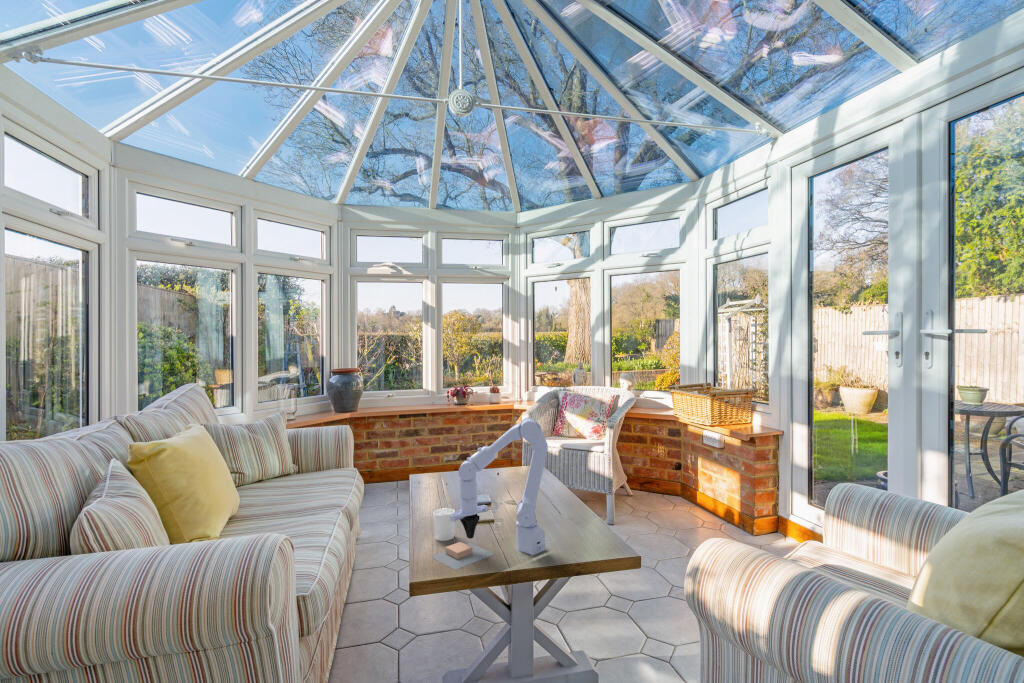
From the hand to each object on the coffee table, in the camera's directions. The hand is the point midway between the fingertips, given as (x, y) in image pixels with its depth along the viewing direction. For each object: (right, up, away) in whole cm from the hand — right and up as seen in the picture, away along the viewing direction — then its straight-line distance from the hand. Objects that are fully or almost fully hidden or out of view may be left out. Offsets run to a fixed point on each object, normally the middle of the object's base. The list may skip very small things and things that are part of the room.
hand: (470, 537), depth 166 cm
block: (-1, -3, -1) cm, 3 cm away
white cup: (-10, -6, +12) cm, 17 cm away
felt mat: (-2, -5, -5) cm, 7 cm away
